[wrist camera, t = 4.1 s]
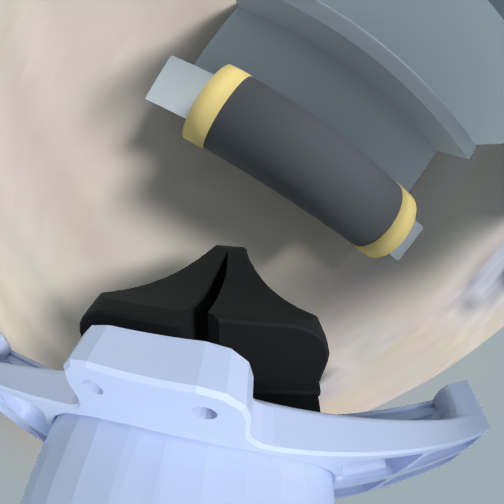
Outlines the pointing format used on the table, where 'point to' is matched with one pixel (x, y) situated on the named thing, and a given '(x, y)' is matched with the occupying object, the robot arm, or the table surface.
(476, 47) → the cover
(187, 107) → the grey slotted block
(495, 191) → the table surface
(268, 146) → the banded gray rod
